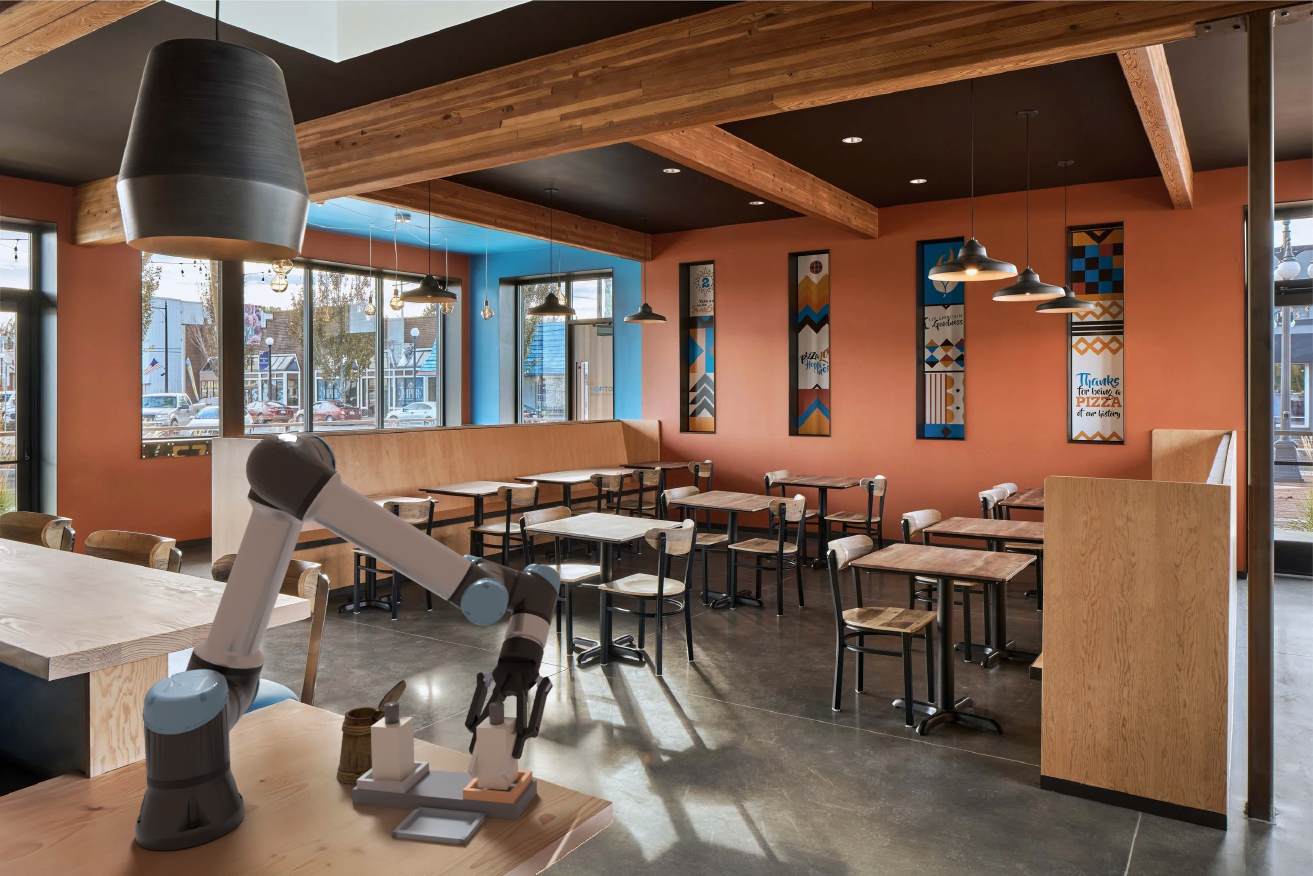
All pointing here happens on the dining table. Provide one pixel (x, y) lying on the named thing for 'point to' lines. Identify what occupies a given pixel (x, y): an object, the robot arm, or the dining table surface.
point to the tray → (439, 825)
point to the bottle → (494, 748)
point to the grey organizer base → (447, 792)
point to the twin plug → (392, 745)
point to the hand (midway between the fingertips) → (488, 776)
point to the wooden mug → (361, 737)
